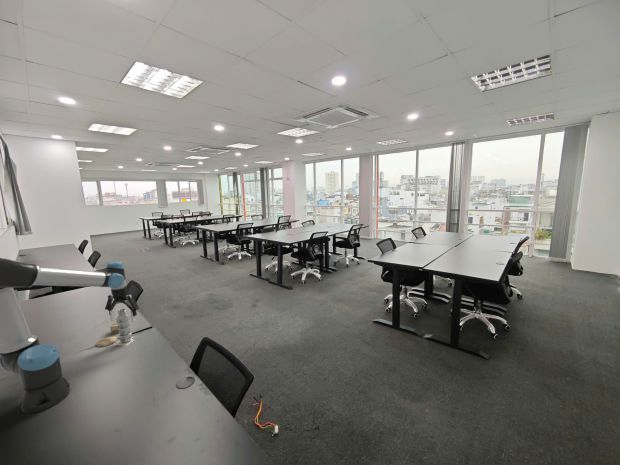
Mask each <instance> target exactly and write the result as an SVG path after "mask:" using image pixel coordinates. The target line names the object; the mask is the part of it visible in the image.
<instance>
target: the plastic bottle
mask: <svg viewBox="0 0 620 465" xmlns="http://www.w3.org/2000/svg"><path fill="white" fill-rule="evenodd" d="M117 314H118V315H117V316H116V319H115V321H116V323H117V324H118V327H119V333H118V334H119V335H118V341H120V342H128V341H130V340H131V339H132V337H133V332H132V331H131V324H130V322H131V320H130V318H131V316H130V315H129V314H128V313H127V309H126V308H122V309H121V308H120V309H119V310H118V311H117Z"/></svg>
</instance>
